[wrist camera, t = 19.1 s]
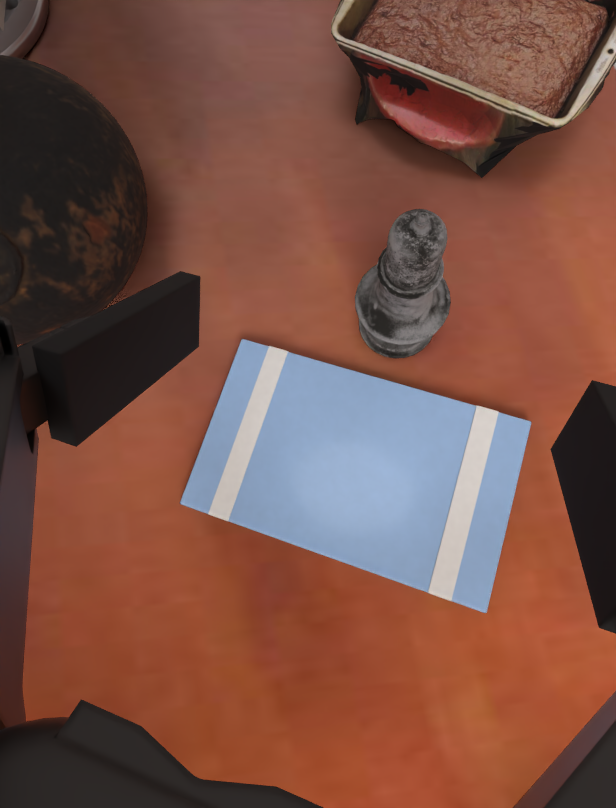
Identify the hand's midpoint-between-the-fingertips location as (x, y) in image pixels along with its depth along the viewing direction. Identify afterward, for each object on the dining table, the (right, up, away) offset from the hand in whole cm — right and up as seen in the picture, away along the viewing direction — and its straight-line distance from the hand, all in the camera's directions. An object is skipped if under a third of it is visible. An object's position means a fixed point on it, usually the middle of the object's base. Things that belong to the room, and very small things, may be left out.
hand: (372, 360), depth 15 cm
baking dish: (+10, +22, +20) cm, 31 cm away
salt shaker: (+4, +4, +16) cm, 17 cm away
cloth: (+1, -5, +14) cm, 15 cm away
